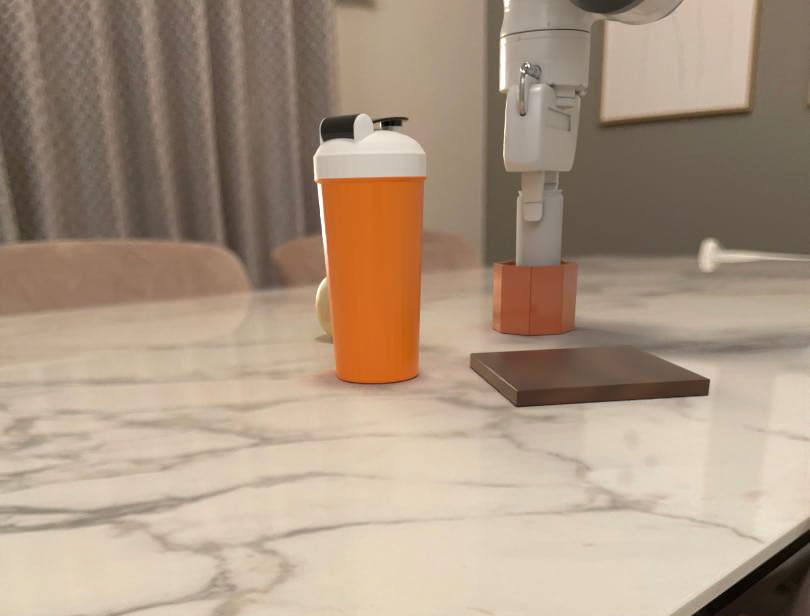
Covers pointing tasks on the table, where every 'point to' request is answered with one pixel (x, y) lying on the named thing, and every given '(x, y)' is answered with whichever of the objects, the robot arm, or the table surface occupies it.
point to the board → (585, 375)
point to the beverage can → (540, 232)
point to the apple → (324, 307)
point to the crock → (534, 298)
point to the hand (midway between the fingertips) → (539, 219)
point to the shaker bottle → (372, 244)
